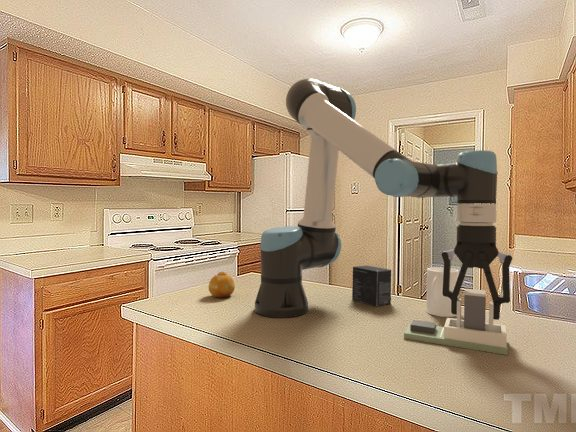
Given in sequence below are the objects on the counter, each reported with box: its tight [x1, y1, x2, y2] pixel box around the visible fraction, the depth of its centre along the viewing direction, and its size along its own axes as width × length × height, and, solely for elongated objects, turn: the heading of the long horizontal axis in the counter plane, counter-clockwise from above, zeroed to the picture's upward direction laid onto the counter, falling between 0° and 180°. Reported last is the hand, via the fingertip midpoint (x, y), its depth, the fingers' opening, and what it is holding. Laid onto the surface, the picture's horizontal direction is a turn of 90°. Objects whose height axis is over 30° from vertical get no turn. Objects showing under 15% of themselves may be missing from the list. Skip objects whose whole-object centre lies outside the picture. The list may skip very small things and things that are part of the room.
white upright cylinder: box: [425, 266, 460, 318], centre depth 101 cm, size 12×8×12 cm
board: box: [403, 319, 509, 356], centre depth 82 cm, size 20×8×3 cm, turn 62°
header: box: [443, 317, 508, 348], centre depth 80 cm, size 12×7×2 cm, turn 62°
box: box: [351, 265, 392, 307], centre depth 114 cm, size 11×7×10 cm, turn 34°
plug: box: [463, 288, 487, 331], centre depth 80 cm, size 4×4×10 cm
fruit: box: [208, 271, 236, 298], centre depth 121 cm, size 8×8×8 cm
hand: (474, 331), depth 80 cm, fingers open, 5 cm apart
